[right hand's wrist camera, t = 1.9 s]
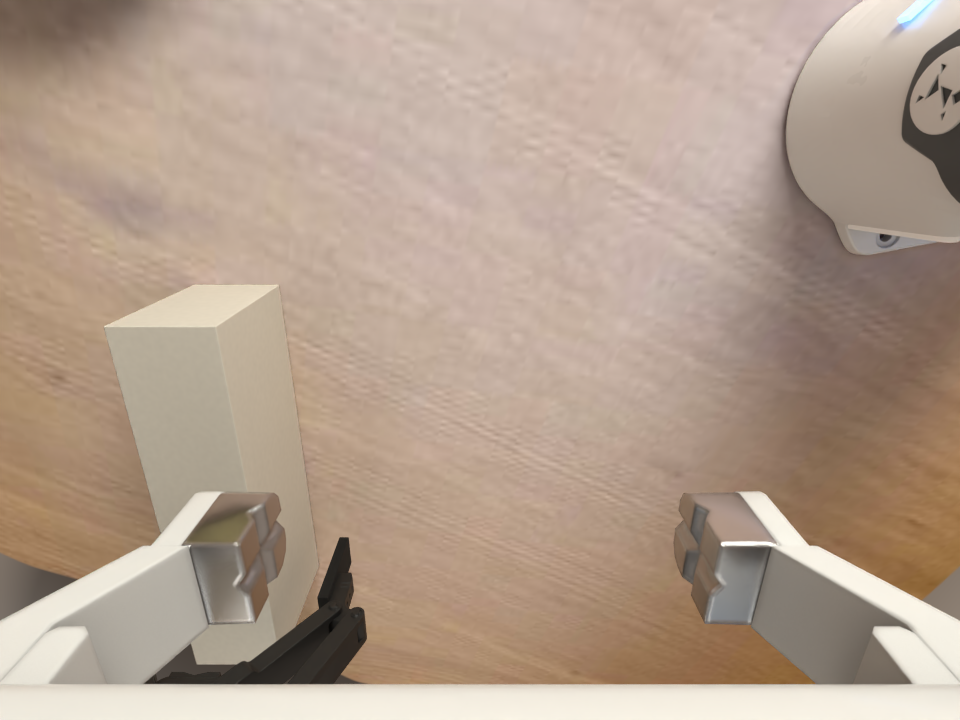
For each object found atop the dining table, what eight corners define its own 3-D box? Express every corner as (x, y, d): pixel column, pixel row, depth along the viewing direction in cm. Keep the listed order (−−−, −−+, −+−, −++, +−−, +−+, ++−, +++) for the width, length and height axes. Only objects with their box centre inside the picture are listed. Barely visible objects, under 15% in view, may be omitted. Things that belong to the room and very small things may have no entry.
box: (193, 284, 39) (102, 326, 29) (279, 284, 39) (215, 326, 29) (251, 565, 49) (196, 664, 39) (319, 565, 49) (281, 664, 39)
